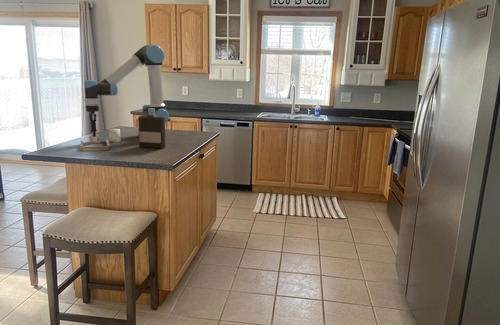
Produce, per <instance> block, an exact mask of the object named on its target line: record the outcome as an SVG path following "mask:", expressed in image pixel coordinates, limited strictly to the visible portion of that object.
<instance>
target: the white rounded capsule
mask: <svg viewBox="0 0 500 325" xmlns="http://www.w3.org/2000/svg"><path fill="white" fill-rule="evenodd" d="M108 134H109V143H120V142H121V141H122V140H121V129H120V128H110V129H108Z"/></svg>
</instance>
